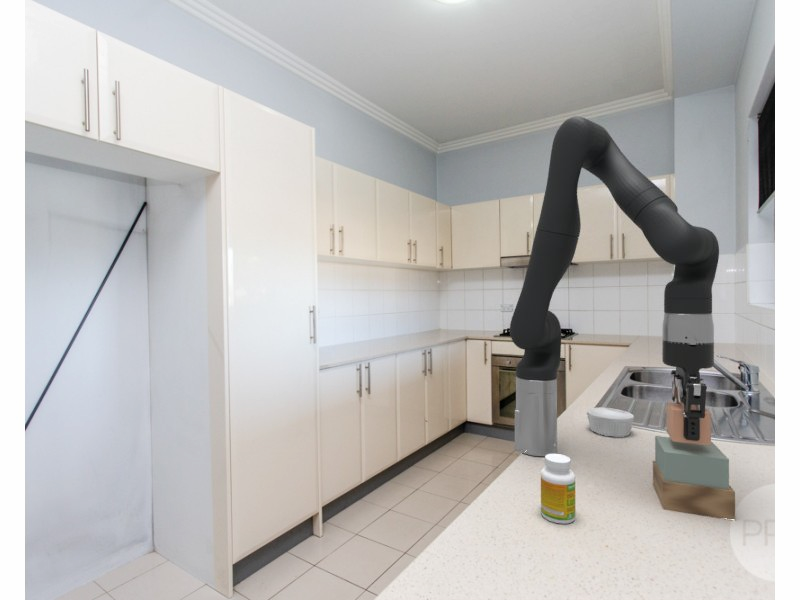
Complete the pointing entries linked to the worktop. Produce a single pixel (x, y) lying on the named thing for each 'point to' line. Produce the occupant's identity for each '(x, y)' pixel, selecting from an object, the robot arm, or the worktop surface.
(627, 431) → the ramekin
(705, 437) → the terracotta cube
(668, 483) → the tower base
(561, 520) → the supplement bottle
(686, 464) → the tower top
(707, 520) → the worktop surface
